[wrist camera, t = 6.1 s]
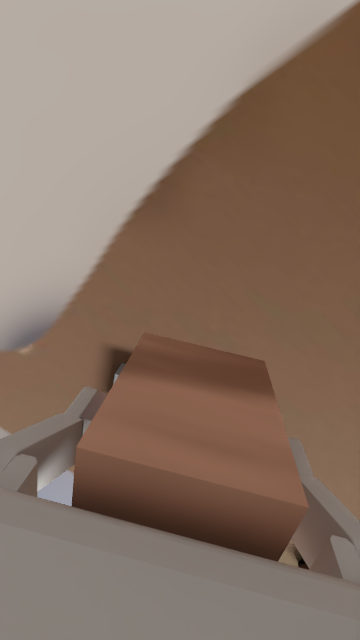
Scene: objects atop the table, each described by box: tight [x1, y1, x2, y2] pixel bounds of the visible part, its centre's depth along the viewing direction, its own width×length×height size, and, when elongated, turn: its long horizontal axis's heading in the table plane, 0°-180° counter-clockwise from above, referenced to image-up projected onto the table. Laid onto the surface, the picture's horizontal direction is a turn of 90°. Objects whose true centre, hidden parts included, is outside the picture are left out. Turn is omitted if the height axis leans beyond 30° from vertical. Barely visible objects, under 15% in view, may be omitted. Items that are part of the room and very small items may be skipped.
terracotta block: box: [72, 333, 309, 562], centre depth 10 cm, size 5×5×6 cm
